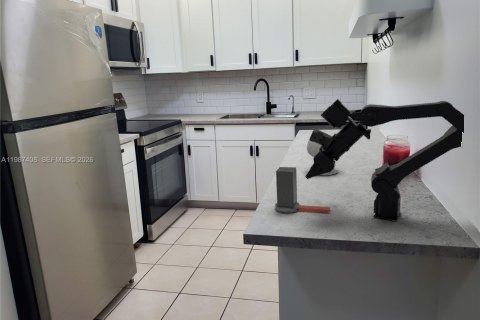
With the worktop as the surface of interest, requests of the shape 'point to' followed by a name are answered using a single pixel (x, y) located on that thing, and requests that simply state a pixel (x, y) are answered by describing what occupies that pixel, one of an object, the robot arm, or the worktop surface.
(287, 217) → the worktop surface
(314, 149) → the chalice
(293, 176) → the brushed metal block
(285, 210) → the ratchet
